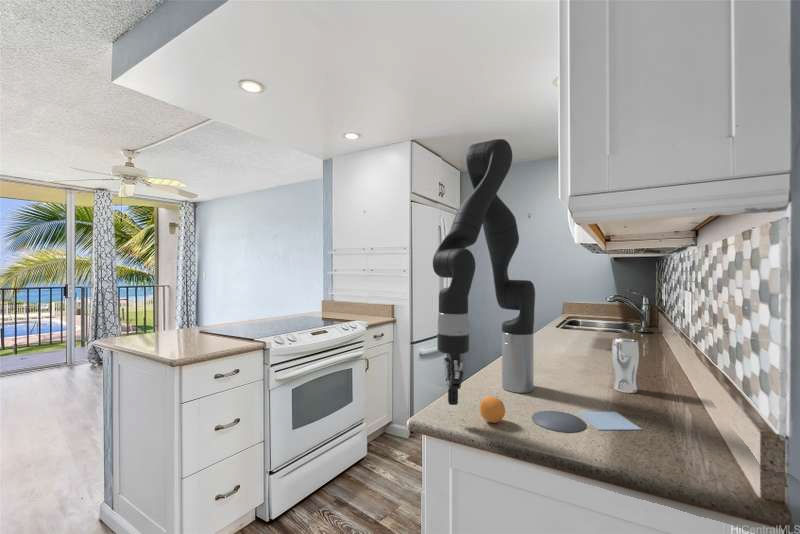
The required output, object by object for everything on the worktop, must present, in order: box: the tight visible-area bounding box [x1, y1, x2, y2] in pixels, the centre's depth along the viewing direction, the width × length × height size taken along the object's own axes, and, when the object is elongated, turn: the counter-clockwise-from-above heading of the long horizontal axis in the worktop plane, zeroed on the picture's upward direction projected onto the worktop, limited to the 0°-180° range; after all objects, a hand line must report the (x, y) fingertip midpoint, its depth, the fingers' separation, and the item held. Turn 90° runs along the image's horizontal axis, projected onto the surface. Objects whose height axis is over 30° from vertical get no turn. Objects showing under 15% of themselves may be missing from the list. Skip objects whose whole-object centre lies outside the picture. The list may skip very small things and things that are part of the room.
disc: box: [531, 410, 587, 433], centre depth 89 cm, size 12×12×1 cm
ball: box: [479, 395, 506, 424], centre depth 89 cm, size 6×6×6 cm
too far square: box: [576, 411, 642, 431], centre depth 89 cm, size 10×10×1 cm
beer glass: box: [611, 337, 640, 394], centre depth 111 cm, size 7×7×15 cm
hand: (452, 403), depth 89 cm, fingers closed
